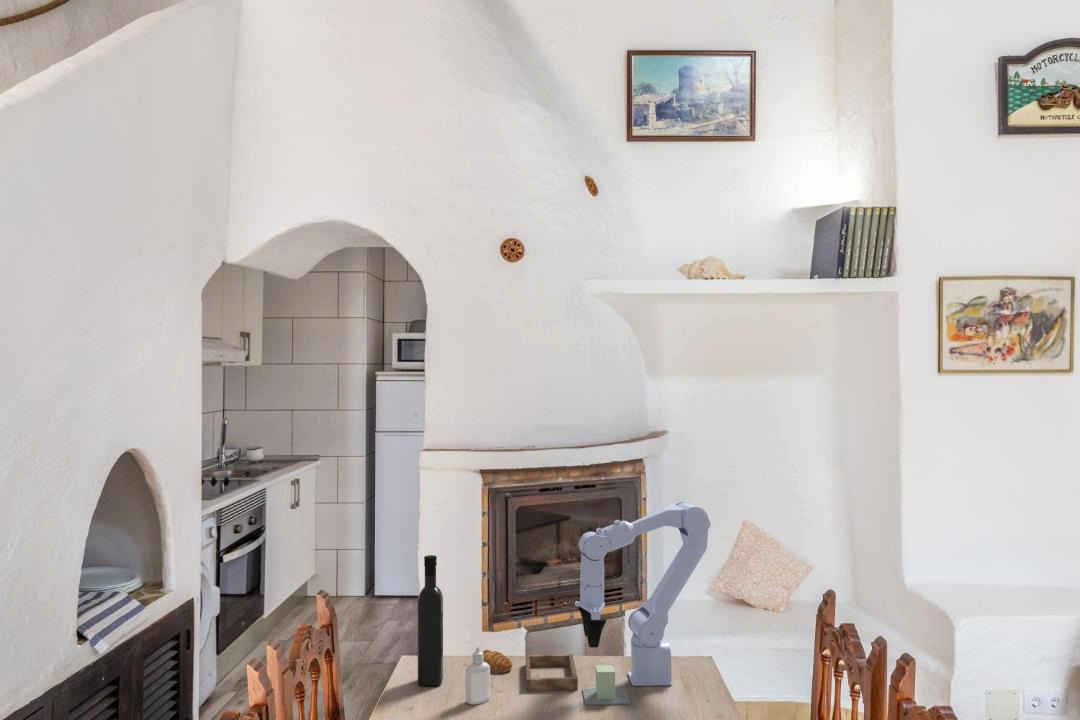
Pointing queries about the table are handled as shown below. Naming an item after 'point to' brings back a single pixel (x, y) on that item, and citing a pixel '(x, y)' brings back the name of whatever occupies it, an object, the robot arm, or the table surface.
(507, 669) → the pastry
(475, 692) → the eye dropper bottle
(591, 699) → the mat
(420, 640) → the wine bottle
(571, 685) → the box
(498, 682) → the table surface
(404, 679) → the table surface
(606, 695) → the wood block
